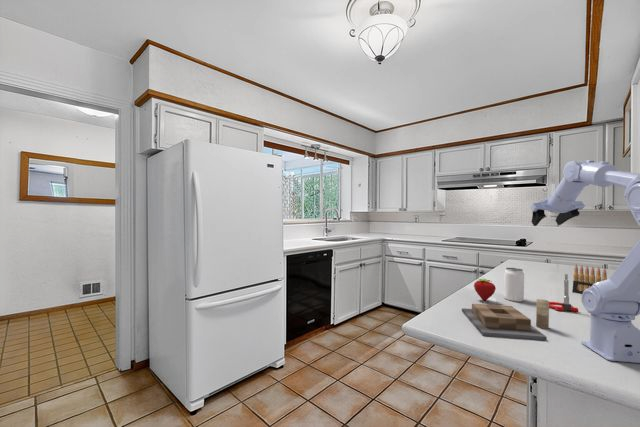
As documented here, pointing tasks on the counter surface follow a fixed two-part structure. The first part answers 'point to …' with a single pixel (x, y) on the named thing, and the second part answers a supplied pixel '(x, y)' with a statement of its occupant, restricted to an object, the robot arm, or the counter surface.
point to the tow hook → (565, 305)
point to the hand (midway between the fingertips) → (545, 223)
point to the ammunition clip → (586, 278)
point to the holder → (502, 322)
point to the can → (514, 284)
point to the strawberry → (484, 288)
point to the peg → (542, 314)
